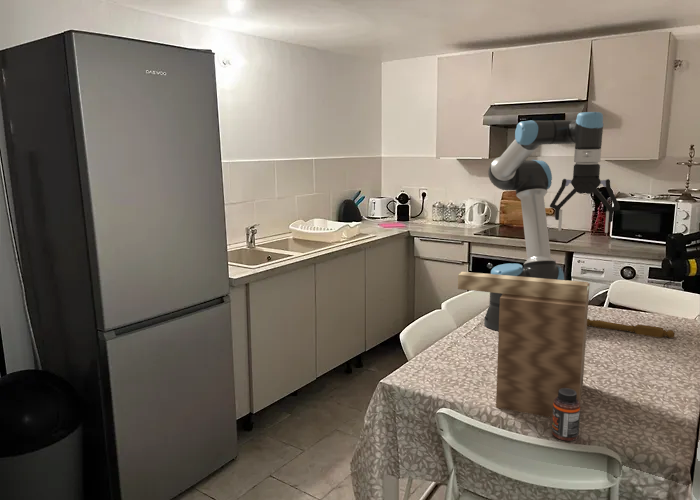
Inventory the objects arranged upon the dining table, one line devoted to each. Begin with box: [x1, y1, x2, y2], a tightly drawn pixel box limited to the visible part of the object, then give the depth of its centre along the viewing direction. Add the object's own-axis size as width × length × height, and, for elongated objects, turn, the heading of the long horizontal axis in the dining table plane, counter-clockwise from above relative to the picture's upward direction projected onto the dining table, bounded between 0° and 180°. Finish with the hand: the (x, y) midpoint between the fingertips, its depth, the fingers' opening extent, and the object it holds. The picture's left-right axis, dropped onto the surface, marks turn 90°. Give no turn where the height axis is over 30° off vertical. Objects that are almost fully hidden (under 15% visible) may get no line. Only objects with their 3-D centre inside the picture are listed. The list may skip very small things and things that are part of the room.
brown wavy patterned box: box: [495, 282, 591, 419], centre depth 150 cm, size 20×24×31 cm
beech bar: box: [457, 271, 589, 302], centre depth 144 cm, size 32×4×4 cm, turn 64°
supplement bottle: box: [551, 388, 581, 442], centre depth 131 cm, size 6×6×11 cm
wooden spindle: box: [587, 318, 675, 339], centre depth 202 cm, size 3×3×30 cm
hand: (582, 231), depth 175 cm, fingers open, 13 cm apart
